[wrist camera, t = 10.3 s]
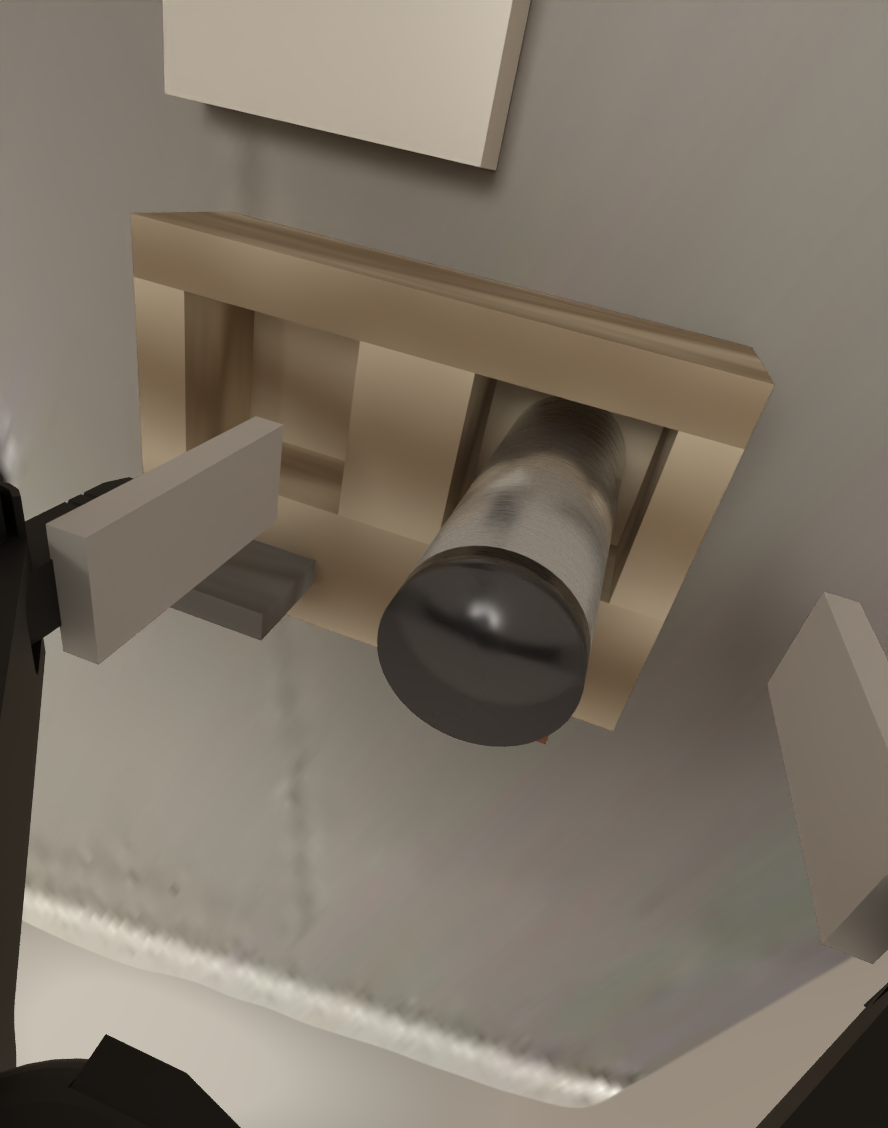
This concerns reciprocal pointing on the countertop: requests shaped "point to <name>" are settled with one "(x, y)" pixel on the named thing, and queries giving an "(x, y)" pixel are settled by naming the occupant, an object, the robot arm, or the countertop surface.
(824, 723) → the robot arm
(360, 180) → the countertop surface
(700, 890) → the countertop surface
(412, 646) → the shaker with dark cap
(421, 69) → the plate
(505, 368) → the socket block
